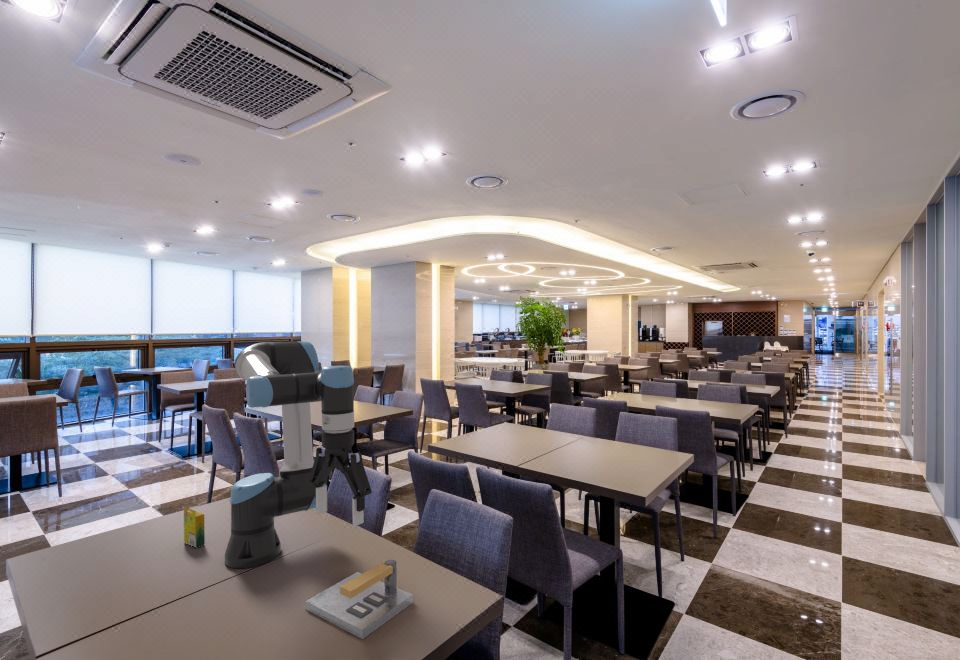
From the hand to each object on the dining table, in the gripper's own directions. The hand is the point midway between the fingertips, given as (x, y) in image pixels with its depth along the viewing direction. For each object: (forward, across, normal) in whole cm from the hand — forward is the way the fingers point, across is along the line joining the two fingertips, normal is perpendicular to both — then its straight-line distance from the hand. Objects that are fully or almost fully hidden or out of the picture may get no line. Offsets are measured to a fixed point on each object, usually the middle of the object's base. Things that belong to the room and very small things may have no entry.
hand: (339, 518), depth 111 cm
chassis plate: (+21, +4, +3) cm, 22 cm away
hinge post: (+21, +8, +9) cm, 25 cm away
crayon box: (+22, -68, -2) cm, 71 cm away
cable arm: (+14, +7, +3) cm, 16 cm away
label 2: (+19, +8, +4) cm, 21 cm away
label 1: (+19, +7, -1) cm, 21 cm away
